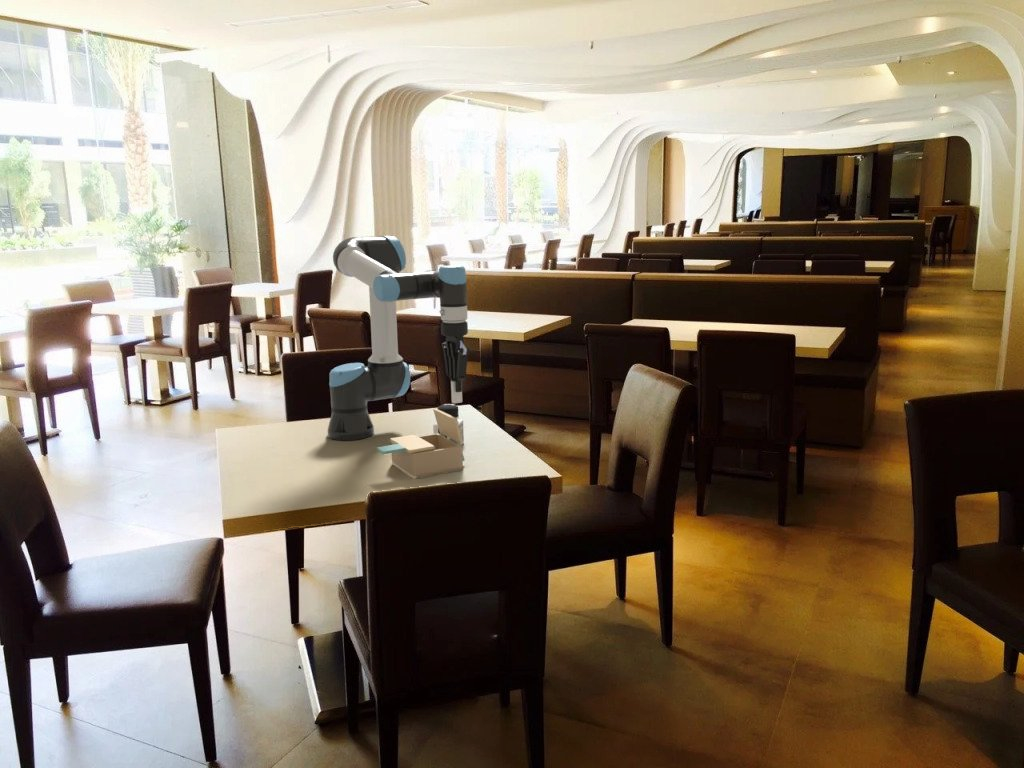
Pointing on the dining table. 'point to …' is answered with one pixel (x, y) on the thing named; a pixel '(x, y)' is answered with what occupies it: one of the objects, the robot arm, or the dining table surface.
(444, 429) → the far flap
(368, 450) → the dining table surface
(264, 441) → the dining table surface
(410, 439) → the near flap
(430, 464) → the carton
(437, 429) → the container
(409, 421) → the dining table surface
